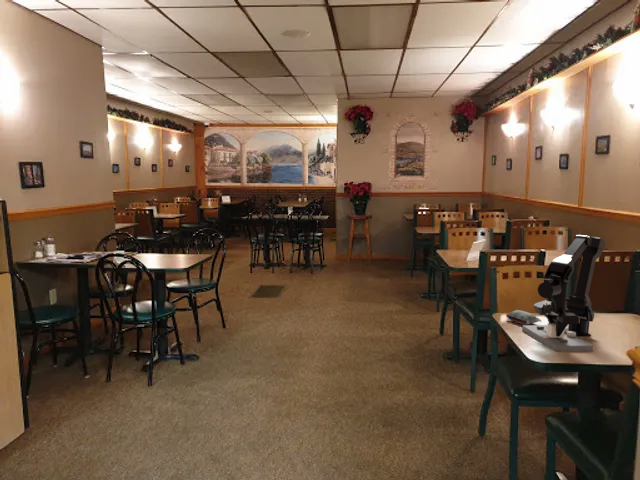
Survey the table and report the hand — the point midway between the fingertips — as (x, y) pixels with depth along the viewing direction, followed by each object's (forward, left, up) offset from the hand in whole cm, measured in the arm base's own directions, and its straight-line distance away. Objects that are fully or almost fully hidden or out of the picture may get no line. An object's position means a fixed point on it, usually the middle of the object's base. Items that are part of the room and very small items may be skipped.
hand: (555, 334), depth 180 cm
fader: (0, 0, 0) cm, 0 cm away
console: (-2, -3, -3) cm, 5 cm away
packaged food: (-1, -26, -3) cm, 26 cm away
